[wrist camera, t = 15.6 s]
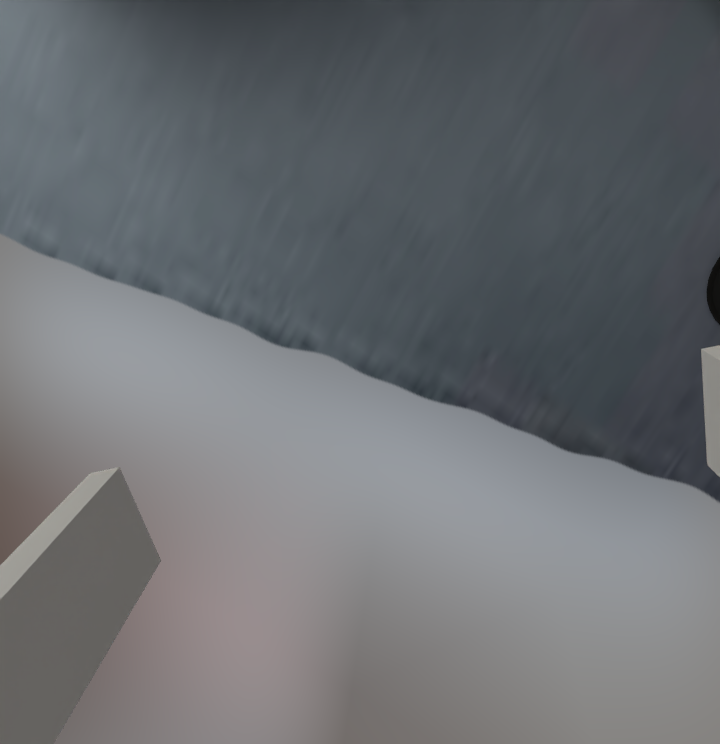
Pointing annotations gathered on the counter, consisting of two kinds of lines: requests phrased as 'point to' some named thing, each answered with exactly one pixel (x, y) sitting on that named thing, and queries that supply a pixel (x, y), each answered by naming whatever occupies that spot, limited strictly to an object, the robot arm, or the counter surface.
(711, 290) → the aerosol can
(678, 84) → the counter surface
